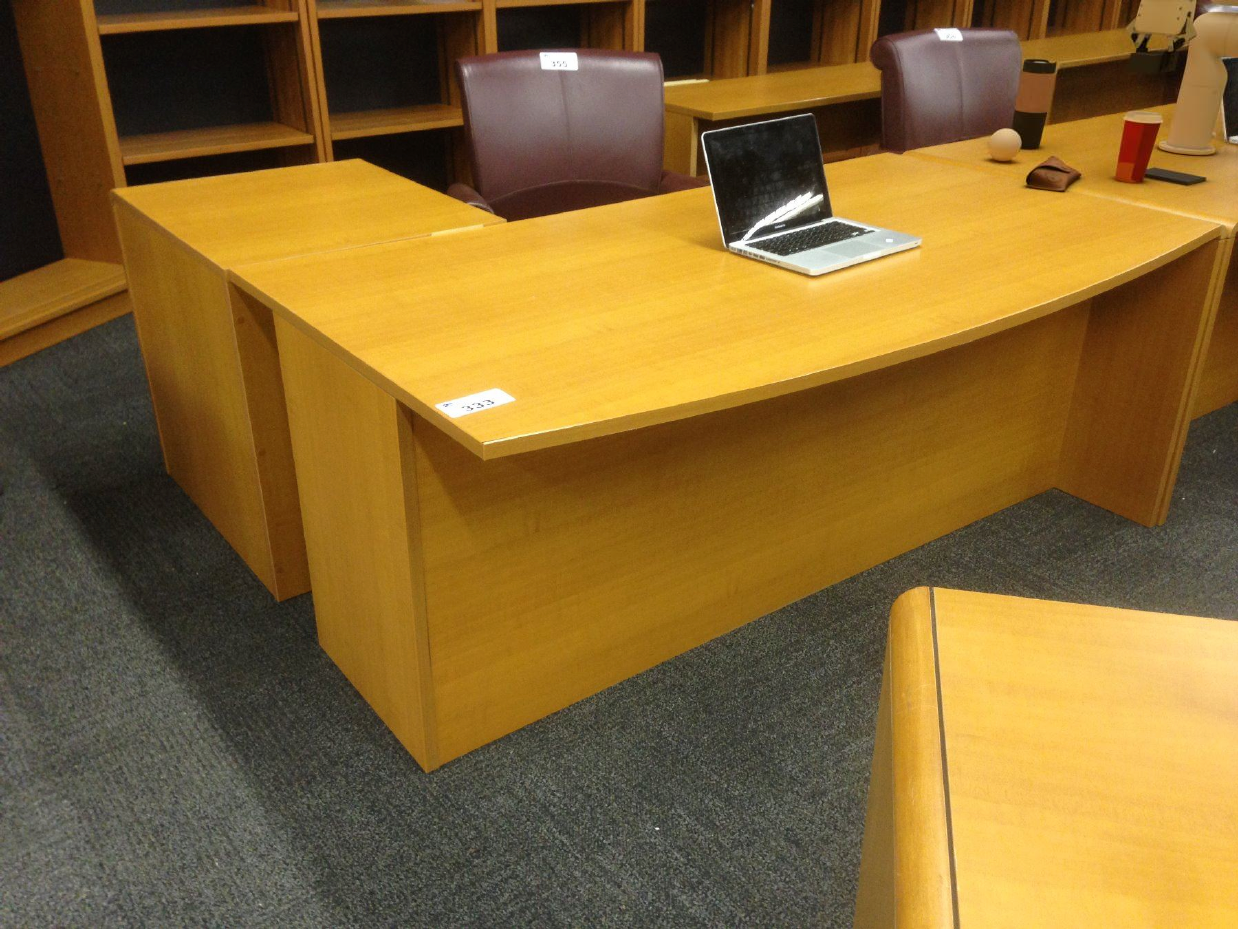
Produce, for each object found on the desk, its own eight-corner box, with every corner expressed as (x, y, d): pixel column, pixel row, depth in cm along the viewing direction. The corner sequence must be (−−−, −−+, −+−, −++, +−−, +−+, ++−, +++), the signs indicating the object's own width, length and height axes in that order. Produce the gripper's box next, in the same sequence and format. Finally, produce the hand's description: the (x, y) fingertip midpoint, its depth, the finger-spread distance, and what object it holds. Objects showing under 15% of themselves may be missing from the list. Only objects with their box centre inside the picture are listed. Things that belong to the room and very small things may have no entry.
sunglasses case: (1067, 189, 217) (1055, 159, 216) (1033, 203, 222) (1022, 173, 221) (1083, 174, 231) (1072, 145, 230) (1051, 187, 235) (1040, 159, 234)
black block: (1152, 67, 224) (1156, 50, 222) (1174, 70, 221) (1179, 52, 219) (1126, 70, 219) (1130, 52, 217) (1149, 73, 215) (1153, 55, 214)
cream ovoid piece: (1017, 165, 240) (1024, 132, 237) (984, 162, 243) (989, 129, 239) (1019, 157, 249) (1025, 125, 245) (986, 154, 251) (992, 122, 248)
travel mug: (1006, 147, 259) (1022, 61, 250) (1009, 142, 265) (1024, 57, 256) (1039, 150, 256) (1057, 63, 247) (1040, 144, 263) (1058, 60, 253)
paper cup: (1146, 177, 231) (1162, 111, 225) (1149, 185, 225) (1166, 117, 218) (1107, 174, 234) (1123, 109, 227) (1110, 181, 227) (1126, 114, 221)
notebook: (1153, 170, 238) (1154, 167, 238) (1205, 180, 230) (1206, 177, 229) (1134, 174, 234) (1135, 171, 234) (1187, 185, 226) (1188, 181, 225)
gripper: (1226, -25, 207) (1200, 73, 216) (1144, -29, 219) (1122, 63, 228) (1207, -24, 203) (1181, 75, 212) (1124, -29, 215) (1103, 65, 224)
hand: (1151, 68), depth 219 cm, fingers closed on black block, 5 cm apart
